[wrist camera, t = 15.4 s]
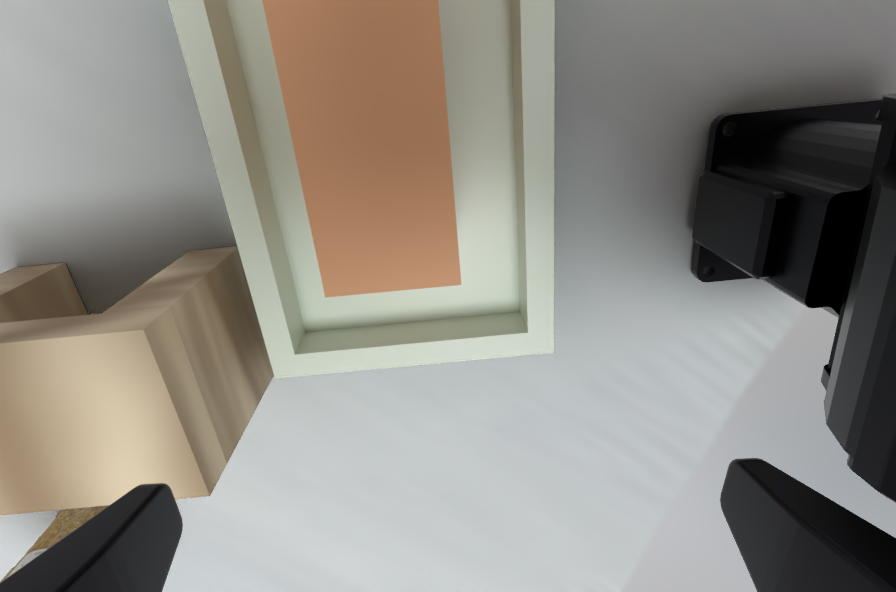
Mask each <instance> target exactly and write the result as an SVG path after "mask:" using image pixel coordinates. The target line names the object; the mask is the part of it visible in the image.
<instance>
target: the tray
mask: <svg viewBox="0 0 896 592" xmlns="http://www.w3.org/2000/svg"><path fill="white" fill-rule="evenodd" d="M167 1H168V5H169V8H170V12H171V15H172V19H173V22H174V26H175V29H176V33H177V36H178V40H179V43H180V47H181V50H182V54H183V57H184V61H185V64H186V68H187V71H188V75H189V78H190V82H191V85H192V89H193V92H194V96H195V99H196V103H197V106H198V110H199V113H200V117H201V120H202V124H203V128H204V131H205V135H206V138H207V142H208V145H209V149H210V152H211V156H212V159H213V163H214V166H215V170H216V173H217V177H218V180H219V184H220V187H221V191H222V194H223V198H224V201H225V205H226V208H227V212H228V215H229V219H230V222H231V226H232V229H233V233H234V236H235V240H236V243H237V247H238V250H239V254H240V257H241V261H242V265H243V268H244V272H245V275H246V279H247V282H248V286H249V289H250V293H251V296H252V300H253V303H254V307H255V310H256V314H257V317H258V321H259V324H260V328H261V331H262V335H263V338H264V342H265V345H266V349H267V352H268V356H269V359H270V363H271V366H272V370H273V373H274V377H275V379H278V378H288V377H299V376H310V375H320V374H331V373H342V372H352V371H363V370H373V369H384V368H395V367H405V366H416V365H427V364H437V363H448V362H459V361H469V360H480V359H491V358H501V357H512V356H523V355H533V354H544V353H554V93H555V0H438V4H439V16H440V28H441V40H442V52H443V65H444V77H445V89H446V101H447V114H448V126H449V138H450V150H451V162H452V175H453V187H454V199H455V211H456V223H457V236H458V248H459V260H460V272H461V285H455V286H444V287H433V288H423V289H412V290H401V291H390V292H379V293H369V294H358V295H347V296H336V297H326V298H325V294H324V289H323V284H322V280H321V275H320V270H319V265H318V261H317V256H316V251H315V247H314V242H313V237H312V232H311V228H310V223H309V218H308V214H307V209H306V204H305V199H304V195H303V190H302V185H301V181H300V176H299V171H298V167H297V162H296V157H295V152H294V148H293V143H292V138H291V134H290V129H289V124H288V119H287V115H286V110H285V105H284V101H283V96H282V91H281V86H280V82H279V77H278V72H277V68H276V63H275V58H274V53H273V49H272V44H271V39H270V35H269V30H268V25H267V20H266V16H265V11H264V6H263V2H262V0H167Z"/></svg>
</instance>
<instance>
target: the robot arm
mask: <svg viewBox="0 0 896 592" xmlns="http://www.w3.org/2000/svg"><path fill="white" fill-rule="evenodd" d="M879 109H880V112H879V116H878V118H877V119H876V113H877V111H878V110H879ZM728 122H729V123H730V126H731V128H730V130H729V132H728V133H727V134H725V135H724V134H723V127H724V125H725V124H726V123H728ZM693 239H694V240H695V248H694V256H693V264H692V273H693V275H694V276H695V277H696V278H698V279H699V280H701V281H702V282H714V281H725V280H735V279H746V278H755V279H762V280H764V281H766V282H767V283H769V284H771V285H772V286H774V287H775V288H777V289H779V290H780V291H782V292H784V293H785V294H787V295H789V296H790V297H792V298H794V299H795V300H797V301H798V302H800V303H802V304H803V305H805V306H807V307H809V308H819V307H821V308H823V309H825V310H826V311H828V312H830V313H831V314H833V315H835V316H837V317H838V318H839V319H838V324H837V329H836V333H835V337H834V342H833V347H832V351H831V355H830V360H829V364H827V365H825V366H824V369H823V373H822V378H821V382H822V384H823V386H824V387H825V389H826V396H825V400H824V407H825V416H826V424H827V426H828V427H829V429H830V430H831V431H832V433H833V434H834V436H835V437H836V439H837V440H838V442H839V443H840V445H841V446H842V448H843V449H844V450H845V451H846V452H847V453H848V454H849V456H848V460H847V464H848V466H849V467H850V469H851V470H852V471H853V472H855V473H856V474H857V475H858V476H860V477H861V478H862V479H864V480H865V481H866V482H867V483H868V484H870V485H871V486H872V487H873V488H874V489H876V490H877V491H878V492H880V493H881V494H882V495H884V496H885V497H887V498H889V499H890V500H892V501H894V502H895V503H896V94H889V95H884V96H883V98H882V99H870V100H860V101H850V102H839V103H829V104H819V105H809V106H798V107H788V108H778V109H767V110H757V111H747V112H737V113H726V114H722V115H720V116H718V117H717V118H716V119H715V120H714V121H713V123H712V124H711V128H710V133H709V140H708V148H707V156H706V164H705V171H704V173H703V175H702V176H701V177H700V181H699V188H698V196H697V204H696V212H695V220H694V228H693ZM708 265H710V268H709V270H708V271H707V272H705V273H703V269H704V268H705V267H706V266H708ZM720 502H721V507H722V511H723V514H724V516H725V518H726V521H727V523H728V525H729V527H730V530H731V532H732V534H733V537H734V539H735V541H736V543H737V546H738V548H739V550H740V553H741V555H742V557H743V560H744V562H745V564H746V566H747V569H748V571H749V573H750V576H751V578H752V580H753V583H754V585H755V587H756V590H757V592H896V538H894V537H892V536H891V535H889V534H887V533H886V532H884V531H882V530H880V529H879V528H877V527H876V526H874V525H872V524H871V523H869V522H867V521H865V520H864V519H862V518H860V517H859V516H857V515H855V514H854V513H852V512H850V511H849V510H847V509H845V508H844V507H842V506H840V505H838V504H837V503H835V502H833V501H831V500H830V499H828V498H827V497H825V496H823V495H822V494H820V493H818V492H816V491H815V490H813V489H811V488H810V487H808V486H806V485H805V484H803V483H801V482H800V481H798V480H796V479H794V478H793V477H791V476H789V475H788V474H786V473H784V472H783V471H781V470H779V469H777V468H776V467H774V466H772V465H771V464H769V463H767V462H766V461H763V460H762V459H758V458H746V459H735V460H733V461H732V462H731V463H730V464H729V467H728V471H727V474H726V478H725V481H724V485H723V489H722V492H721V499H720ZM182 526H183V524H182V517H181V515H180V512H179V509H178V506H177V504H176V501H175V498H174V495H173V492H172V490H171V488H170V487H169V486H168V485H167V484H164V483H155V484H142V485H139V486H137V487H135V488H133V489H132V490H130V491H129V492H128V493H126V494H125V495H123V496H122V497H121V498H119V499H118V500H116V501H115V502H113V503H112V504H111V505H109V506H108V507H106V508H105V509H104V510H102V511H101V512H99V513H98V514H96V515H95V516H94V517H92V518H91V519H89V520H88V521H87V522H85V523H84V524H82V525H81V526H80V527H78V528H77V529H75V530H74V531H72V532H71V533H70V534H68V535H67V536H65V537H64V538H63V539H61V540H60V541H58V542H57V543H55V544H54V545H53V546H51V547H50V548H48V549H47V550H46V551H44V552H43V553H41V554H40V555H39V556H37V557H36V558H34V559H33V560H31V561H30V562H29V563H27V564H26V565H24V566H23V567H22V568H20V569H19V570H17V571H16V572H14V573H13V574H12V575H10V576H9V577H7V578H6V579H5V580H3V581H2V582H0V592H162V590H163V587H164V584H165V581H166V578H167V575H168V572H169V569H170V566H171V564H172V561H173V558H174V555H175V552H176V549H177V546H178V543H179V540H180V537H181V534H182Z"/></svg>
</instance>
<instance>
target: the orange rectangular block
mask: <svg viewBox="0 0 896 592" xmlns="http://www.w3.org/2000/svg"><path fill="white" fill-rule="evenodd" d="M262 2H263V6H264V11H265V16H266V20H267V25H268V30H269V35H270V39H271V44H272V49H273V53H274V58H275V63H276V68H277V72H278V77H279V82H280V86H281V91H282V96H283V101H284V105H285V110H286V115H287V119H288V124H289V129H290V134H291V138H292V143H293V148H294V152H295V157H296V162H297V167H298V171H299V176H300V181H301V185H302V190H303V195H304V199H305V204H306V209H307V214H308V218H309V223H310V228H311V232H312V237H313V242H314V247H315V251H316V256H317V261H318V265H319V270H320V275H321V280H322V284H323V289H324V294H325V298H326V297H336V296H347V295H358V294H369V293H379V292H390V291H401V290H412V289H423V288H433V287H444V286H455V285H461V272H460V260H459V248H458V236H457V223H456V211H455V199H454V187H453V175H452V162H451V150H450V138H449V126H448V114H447V101H446V89H445V77H444V65H443V52H442V40H441V28H440V16H439V4H438V0H262Z"/></svg>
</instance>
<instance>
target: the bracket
mask: <svg viewBox="0 0 896 592" xmlns="http://www.w3.org/2000/svg"><path fill="white" fill-rule="evenodd" d="M273 376H274V373H273V370H272V366H271V363H270V359H269V356H268V352H267V349H266V345H265V342H264V338H263V335H262V331H261V328H260V324H259V321H258V317H257V314H256V310H255V307H254V303H253V300H252V296H251V293H250V289H249V286H248V282H247V279H246V275H245V272H244V268H243V265H242V261H241V257H240V254H239V250H238V247H237V246H233V247H223V248H213V249H202V250H192V251H188V252H187V253H185V254H184V255H183V256H181V257H180V258H178V259H177V260H176V261H174V262H173V263H171V264H170V265H169V266H167V267H166V268H164V269H163V270H162V271H160V272H159V273H157V274H156V275H155V276H153V277H152V278H150V279H149V280H148V281H146V282H145V283H143V284H142V285H141V286H139V287H138V288H136V289H135V290H134V291H132V292H131V293H129V294H128V295H127V296H125V297H124V298H122V299H121V300H120V301H118V302H117V303H115V304H114V305H113V306H111V307H110V308H108V309H107V310H106V311H104V312H103V313H101V314H90V315H88V313H87V311H86V309H85V306H84V304H83V302H82V300H81V298H80V295H79V293H78V291H77V289H76V286H75V284H74V282H73V280H72V277H71V275H70V273H69V271H68V269H67V266H66V264H65V263H56V264H46V265H35V266H25V267H15V268H13V269H11V270H9V271H6V272H4V273H2V274H0V515H9V514H20V513H30V512H41V511H52V510H63V509H74V508H85V507H96V506H106V505H111V504H112V503H113V502H115V501H116V500H118V499H119V498H121V497H122V496H123V495H125V494H126V493H128V492H129V491H130V490H132V489H133V488H135V487H137V486H139V485H142V484H155V483H164V484H167V485H168V486H169V487H170V488H171V490H172V492H173V495H174V498H175V499H182V498H193V497H204V496H210V495H211V493H212V491H213V489H214V487H215V485H216V483H217V482H218V480H219V478H220V476H221V474H222V472H223V470H224V468H225V466H226V465H227V463H228V461H229V459H230V457H231V455H232V453H233V451H234V449H235V447H236V446H237V444H238V442H239V440H240V438H241V436H242V434H243V432H244V430H245V429H246V427H247V425H248V423H249V421H250V419H251V417H252V415H253V413H254V412H255V410H256V408H257V406H258V404H259V402H260V400H261V398H262V396H263V394H264V393H265V391H266V389H267V387H268V385H269V383H270V381H271V379H272V377H273Z"/></svg>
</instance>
